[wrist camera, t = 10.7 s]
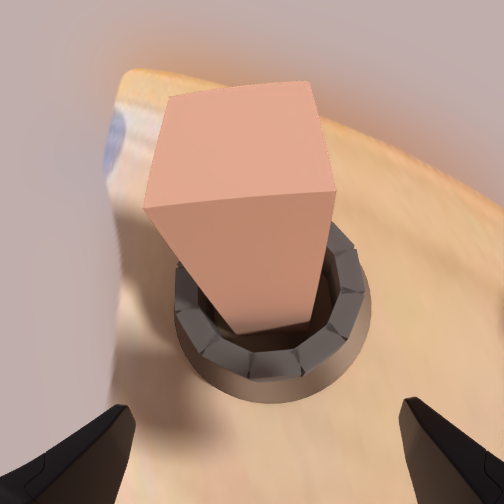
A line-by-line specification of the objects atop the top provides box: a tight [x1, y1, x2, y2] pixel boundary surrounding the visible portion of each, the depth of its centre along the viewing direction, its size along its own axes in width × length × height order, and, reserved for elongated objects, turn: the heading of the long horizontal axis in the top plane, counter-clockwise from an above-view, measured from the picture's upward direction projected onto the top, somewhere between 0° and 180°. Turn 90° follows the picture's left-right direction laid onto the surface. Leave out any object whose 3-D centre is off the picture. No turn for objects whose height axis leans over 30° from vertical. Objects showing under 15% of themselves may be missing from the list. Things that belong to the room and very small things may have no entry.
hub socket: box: [174, 221, 371, 404], centre depth 18 cm, size 12×12×4 cm
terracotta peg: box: [143, 81, 336, 336], centre depth 13 cm, size 4×4×13 cm
